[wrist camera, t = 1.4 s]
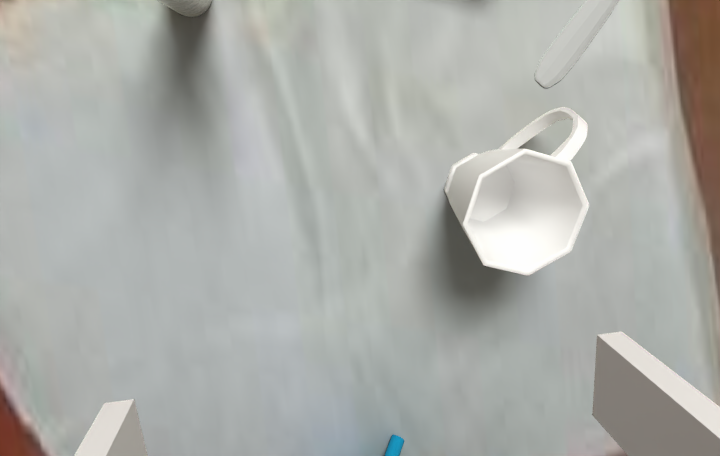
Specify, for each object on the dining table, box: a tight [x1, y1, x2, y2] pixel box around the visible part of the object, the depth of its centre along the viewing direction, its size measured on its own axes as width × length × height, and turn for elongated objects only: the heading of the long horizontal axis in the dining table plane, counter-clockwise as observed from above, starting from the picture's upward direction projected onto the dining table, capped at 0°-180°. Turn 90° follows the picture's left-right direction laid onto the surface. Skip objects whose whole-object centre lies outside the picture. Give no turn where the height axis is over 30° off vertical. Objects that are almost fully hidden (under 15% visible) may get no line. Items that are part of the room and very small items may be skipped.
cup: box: [444, 107, 589, 276], centre depth 31 cm, size 7×10×8 cm
